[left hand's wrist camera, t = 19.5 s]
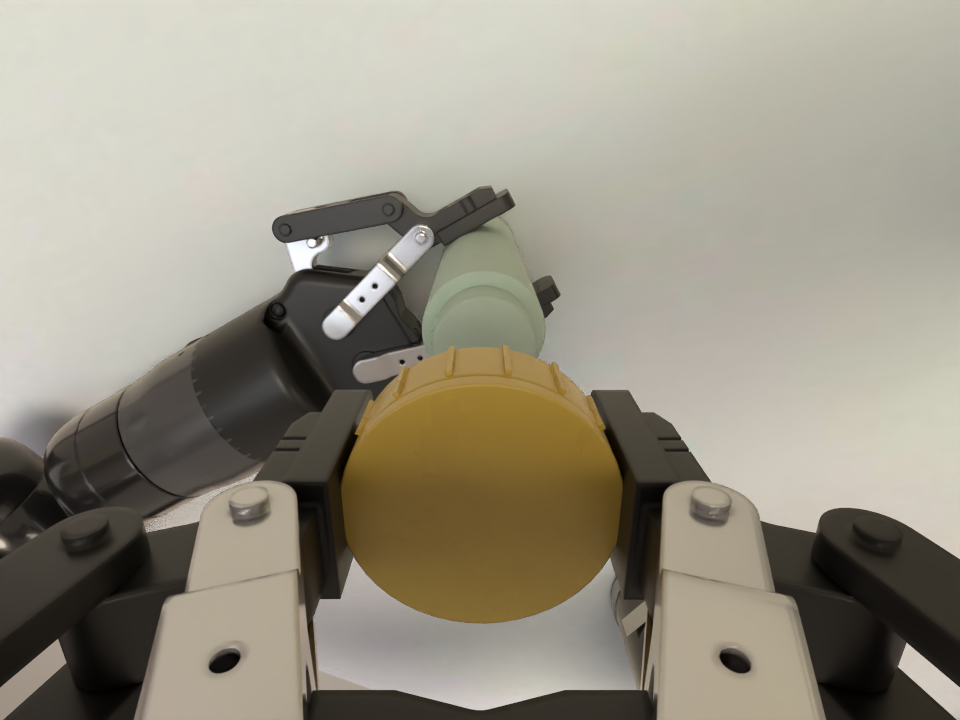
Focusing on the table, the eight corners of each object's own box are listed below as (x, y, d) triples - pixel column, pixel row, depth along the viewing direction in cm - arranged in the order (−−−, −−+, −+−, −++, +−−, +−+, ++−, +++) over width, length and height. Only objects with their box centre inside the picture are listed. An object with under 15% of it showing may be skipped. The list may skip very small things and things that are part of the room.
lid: (599, 558, 12) (618, 623, 10) (369, 562, 12) (351, 628, 10) (614, 340, 10) (639, 377, 8) (343, 345, 10) (318, 384, 8)
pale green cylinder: (433, 255, 33) (392, 363, 17) (471, 197, 32) (465, 254, 16) (489, 292, 34) (500, 429, 18) (528, 237, 33) (578, 330, 17)
